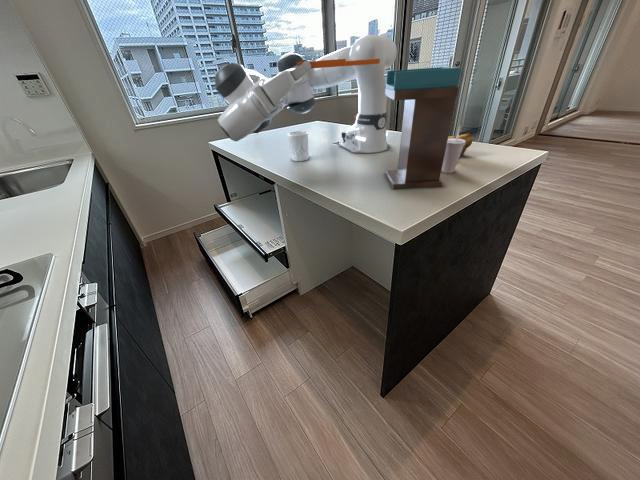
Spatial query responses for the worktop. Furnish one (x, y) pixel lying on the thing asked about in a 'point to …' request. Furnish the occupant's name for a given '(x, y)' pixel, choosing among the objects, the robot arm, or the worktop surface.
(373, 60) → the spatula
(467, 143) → the bread roll
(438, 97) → the stand
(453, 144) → the smoothie
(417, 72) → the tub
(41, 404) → the worktop surface
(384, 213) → the worktop surface
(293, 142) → the white cup
